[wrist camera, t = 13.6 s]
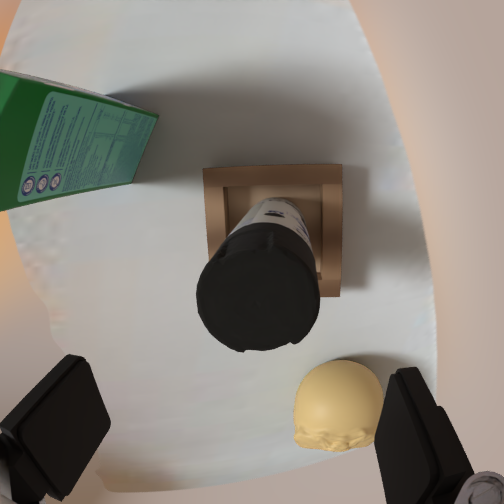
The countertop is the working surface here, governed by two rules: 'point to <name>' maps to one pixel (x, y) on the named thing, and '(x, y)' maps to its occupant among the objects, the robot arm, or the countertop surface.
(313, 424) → the sculpture
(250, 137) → the countertop surface
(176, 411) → the countertop surface
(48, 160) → the milk carton
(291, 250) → the spray can
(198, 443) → the countertop surface
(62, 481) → the robot arm
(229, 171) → the socket block
